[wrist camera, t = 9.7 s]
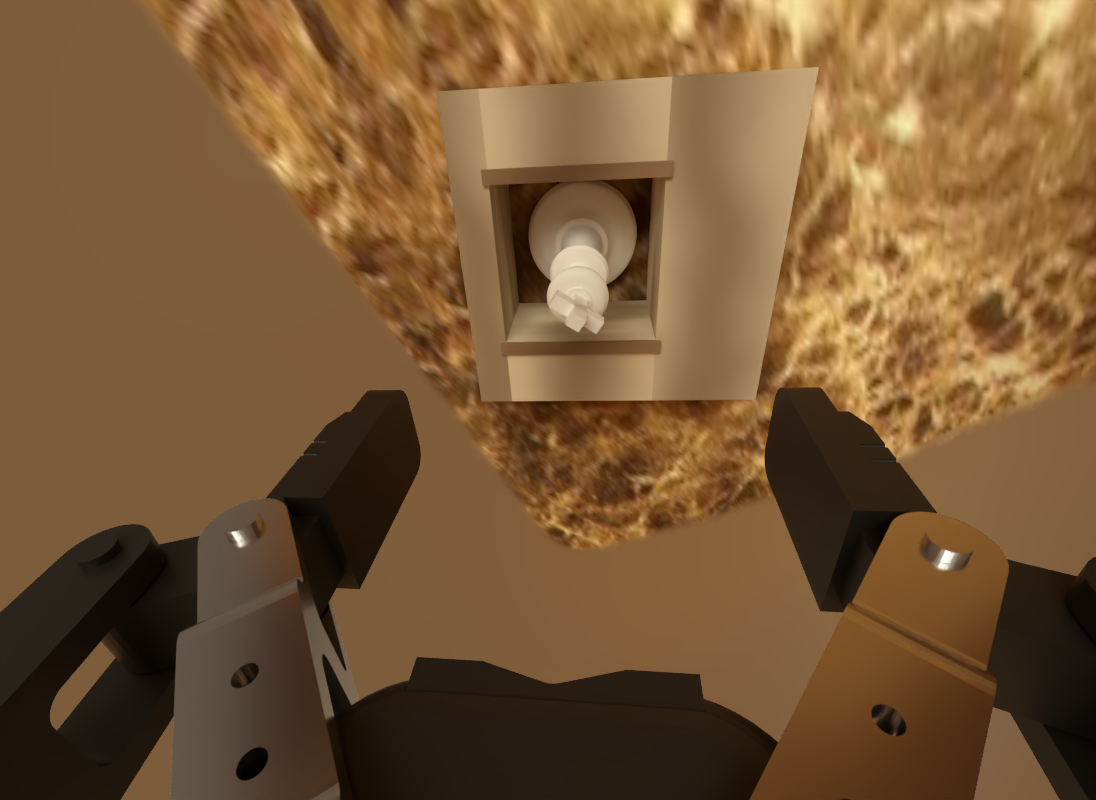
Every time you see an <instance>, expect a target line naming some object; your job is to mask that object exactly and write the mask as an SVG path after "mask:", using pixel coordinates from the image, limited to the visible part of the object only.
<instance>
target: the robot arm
mask: <svg viewBox="0 0 1096 800" xmlns="http://www.w3.org/2000/svg"><path fill="white" fill-rule="evenodd" d="M420 456H421V453H420V445H419V441H418V437H417V433H416V429H415V425H414V421H413V417H412V413H411V410H410V405H409V401H408V398H407V396H406V394H405V393H404V391H402V390H370V391H367V392H366V393H365V394H364V395H363V397H362V398H361V399H360V401H359V402H358V403H357V405H356V406H355V407H354V408H353V409H352V411H351V412H345V413H344V414H342V415H341V416H340V417H338V418H336V419H335V420H333V421H332V422H330V423H329V424H327V425H326V426H325V428H324V429H323V430H322V431H321V432H320V434H319V435H318V436H317V437H316V438H315V440H314V443H311V445H310V446H309V447H308V448H307V449H306V450H305V452H304V456H300V458H299V459H298V460H297V461H296V462H295V464H294V465H293V466H292V467H291V468H290V470H289V471H288V472H287V473H286V474H285V476H284V477H283V478H282V479H281V481H280V482H279V483H278V484H277V485H276V486H275V488H274V489H273V490H272V492H271V493H270V494H269V495H268V496H267V497H266V498H262V499H255V500H250V501H247V502H244V503H241V504H239V505H236V506H234V507H232V508H230V509H228V510H226V511H224V512H223V513H221V514H220V515H218V516H217V517H216V518H214V519H213V520H212V521H211V522H210V523H209V524H208V525H207V526H206V527H205V529H204V530H203V531H202V533H201V535H200V536H198V537H193V538H188V539H184V540H179V541H174V542H169V543H165V544H160V545H159V544H158V542H157V541H156V539H155V538H154V536H153V535H152V533H151V532H150V530H149V529H148V528H146V527H145V526H142V525H135V524H130V525H122V526H118V527H114V528H110V529H108V530H105V531H102V532H100V533H97V534H95V535H93V536H91V537H89V538H87V539H85V540H84V541H82V542H80V543H79V544H77V545H75V546H74V547H73V548H71V549H70V550H68V551H67V552H66V553H65V554H64V555H63V556H61V557H60V558H59V559H58V560H57V561H56V562H55V563H54V564H53V565H52V566H51V567H49V568H48V569H47V570H46V571H45V572H44V573H43V574H42V575H41V576H40V577H38V578H37V579H36V580H35V581H34V582H33V583H32V584H31V585H30V586H29V587H28V588H26V590H24V591H23V592H22V593H21V594H20V595H19V596H18V597H17V598H16V599H14V600H13V601H12V602H11V603H10V604H9V605H8V606H7V607H6V608H5V609H4V610H3V611H1V612H0V800H121V798H122V796H123V795H124V793H125V792H126V790H127V789H128V787H129V785H130V784H131V782H132V781H133V779H134V778H135V776H136V774H137V772H138V771H139V770H140V768H141V766H142V765H143V763H144V762H145V760H146V759H147V757H148V756H149V754H150V752H151V751H152V749H153V748H154V746H155V744H156V743H157V741H158V740H159V738H160V737H161V735H162V734H163V732H164V730H165V729H166V727H167V726H168V724H169V722H170V721H171V719H172V718H173V716H174V720H173V746H172V769H171V794H170V796H171V797H170V800H974V795H975V791H976V786H977V781H978V777H979V772H980V767H981V762H982V757H983V752H984V747H985V743H986V737H987V733H988V728H989V723H990V718H991V713H992V709H993V707H995V708H998V709H1001V710H1004V711H1007V712H1010V713H1011V715H1012V717H1013V719H1014V720H1015V722H1016V724H1017V726H1018V727H1019V729H1020V731H1021V733H1022V734H1023V736H1024V738H1025V740H1026V741H1027V743H1028V745H1029V746H1030V748H1031V750H1032V752H1033V754H1034V755H1035V757H1036V759H1037V761H1038V762H1039V764H1040V766H1041V767H1042V769H1043V771H1044V773H1045V774H1046V776H1047V778H1048V780H1049V782H1050V783H1051V785H1052V787H1053V788H1054V790H1055V792H1056V794H1057V796H1058V797H1059V799H1060V800H1096V557H1094V558H1092V559H1091V560H1090V561H1088V562H1087V564H1086V565H1085V567H1084V568H1083V569H1082V571H1081V572H1080V574H1079V575H1078V576H1073V575H1069V574H1064V573H1060V572H1056V571H1052V570H1048V569H1044V568H1040V567H1036V566H1031V565H1027V564H1023V563H1019V562H1015V561H1012V560H1008V559H1007V558H1006V556H1005V554H1004V553H1003V551H1002V550H1001V549H1000V547H999V546H998V545H997V544H996V543H995V542H994V541H993V540H992V539H990V538H989V537H988V536H987V535H985V534H984V533H982V532H981V531H979V530H978V529H976V528H974V527H972V526H971V525H969V524H967V523H965V522H962V521H960V520H958V519H955V518H952V517H949V516H945V515H941V514H938V513H937V512H936V511H935V509H934V508H933V507H932V506H931V504H930V503H929V502H928V500H927V499H926V498H925V496H923V494H922V492H921V491H920V490H919V489H918V487H917V486H916V485H915V483H914V482H913V480H912V479H911V478H910V476H909V475H908V474H907V473H906V471H905V470H904V469H903V467H902V466H901V465H900V463H896V458H895V457H894V455H893V454H892V453H891V451H890V450H889V449H888V448H885V444H884V442H883V441H882V440H881V438H880V437H879V436H878V434H877V433H876V432H875V430H874V429H873V428H872V426H870V425H869V424H867V423H865V422H864V421H862V420H861V419H859V418H858V417H856V416H855V415H853V414H852V413H850V412H838V411H837V409H836V408H835V407H834V405H833V404H832V402H831V401H830V399H829V398H828V396H827V395H826V394H825V392H824V391H823V390H822V389H821V388H819V387H810V388H780V389H779V390H778V391H777V393H776V396H775V401H774V406H773V411H772V416H771V422H770V427H769V432H768V437H767V443H766V448H765V469H766V474H767V478H768V480H769V483H770V486H771V488H772V491H773V493H774V496H775V498H776V501H777V503H778V506H779V508H780V511H781V513H782V515H783V518H784V521H785V523H786V526H787V528H788V531H789V533H790V536H791V538H792V541H793V543H794V546H795V549H796V551H797V553H798V556H799V559H800V561H801V564H802V566H803V569H804V571H805V574H806V576H807V579H808V581H809V584H810V586H811V589H812V591H813V594H814V596H815V599H816V602H817V604H818V606H819V609H820V611H828V612H829V611H830V612H843V614H842V616H841V618H840V620H839V622H838V624H837V626H836V628H835V630H834V632H833V634H832V636H831V638H830V640H829V642H828V644H827V646H826V648H825V650H824V652H823V654H822V656H821V658H820V660H819V662H818V664H817V666H816V668H815V670H814V672H813V674H812V676H811V678H810V680H809V682H808V684H807V686H806V688H805V690H804V692H803V694H802V696H801V698H800V700H799V702H798V704H797V706H796V708H795V710H794V712H793V714H792V716H791V718H790V720H789V722H788V724H787V726H786V728H785V730H784V732H783V734H782V736H781V738H780V740H779V742H777V741H776V740H775V739H773V738H772V737H771V736H770V735H769V734H767V733H766V732H764V731H763V730H762V729H760V728H759V727H758V726H756V725H755V724H754V723H752V722H751V721H749V720H747V719H746V718H744V717H742V716H741V715H739V714H737V713H736V712H733V711H731V710H730V709H727V708H725V707H723V706H721V705H719V704H717V703H714V702H711V701H708V700H705V699H703V694H702V687H701V680H700V675H699V674H684V673H667V672H651V671H635V670H624V671H619V672H614V673H609V674H604V675H599V676H594V677H589V678H584V679H579V680H574V681H569V682H563V683H558V684H548V683H545V682H541V681H539V680H535V679H533V678H530V677H526V676H524V675H521V674H518V673H515V672H512V671H509V670H507V669H504V668H501V667H498V666H495V665H492V664H489V663H486V662H484V661H472V660H455V659H438V658H423V657H417V659H416V661H415V665H414V667H413V670H412V674H411V676H410V679H409V681H404V682H400V683H397V684H394V685H391V686H388V687H385V688H383V689H381V690H378V691H376V692H374V693H372V694H370V695H368V696H366V697H364V698H363V699H361V700H360V699H359V696H358V694H357V691H356V688H355V685H354V681H353V678H352V675H351V671H350V667H349V663H348V660H347V656H346V652H345V649H344V645H343V641H342V638H341V634H340V631H339V627H338V624H337V620H336V616H335V613H334V609H333V607H332V605H331V602H330V599H331V597H332V595H333V593H334V591H335V590H336V588H350V589H360V587H361V585H362V583H363V581H364V579H365V577H366V575H367V573H368V571H369V569H370V567H371V565H372V563H373V561H374V559H375V557H376V555H377V553H378V551H379V549H380V547H381V545H382V543H383V541H384V539H385V537H386V535H387V533H388V531H389V529H390V527H391V525H392V523H393V521H394V519H395V517H396V514H397V513H398V511H399V509H400V507H401V505H402V503H403V501H404V499H405V497H406V495H407V493H408V491H409V489H410V487H411V485H412V483H413V480H414V479H415V477H416V475H417V472H418V470H419V466H420V458H421V457H420ZM100 641H101V642H102V643H103V644H104V645H105V646H106V647H107V648H108V650H109V651H110V652H111V653H112V654H113V655H114V656H115V657H116V658H115V659H114V661H113V662H112V663H111V664H110V665H109V667H108V668H107V669H106V670H105V672H104V673H103V674H102V675H101V677H100V678H99V679H98V680H97V682H96V683H95V684H94V685H93V687H92V688H91V689H90V690H89V692H88V693H87V694H86V695H85V697H84V698H83V699H82V700H81V702H80V703H79V704H78V705H77V706H76V708H75V709H74V710H73V712H72V713H71V714H70V715H69V717H68V718H67V719H66V720H65V721H64V723H63V724H62V725H61V726H60V728H59V729H58V730H57V731H56V730H55V729H54V728H53V726H52V725H51V722H50V709H51V705H52V702H53V700H54V698H55V696H56V694H57V693H58V691H59V690H60V689H61V687H62V686H63V685H64V684H65V682H66V681H67V680H68V679H69V678H70V676H71V675H72V674H73V673H74V672H75V671H76V670H77V668H78V667H79V666H80V665H81V664H82V663H83V661H84V660H85V659H86V658H87V657H88V655H89V654H90V653H91V652H92V651H93V650H94V648H95V647H96V646H97V645H98V644H99V643H100Z"/></svg>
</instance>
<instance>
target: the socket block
mask: <svg viewBox="0 0 1096 800" xmlns="http://www.w3.org/2000/svg"><path fill="white" fill-rule="evenodd" d="M818 69H819V67H813V68H797V69H781V70H766V71H750V72H735V73H719V74H704V75H688V76H673V77H657V78H642V79H626V80H610V81H595V82H579V83H564V84H548V85H533V86H517V87H502V88H486V89H470V90H455V91H439V92H437V99H438V106H439V113H440V120H441V127H442V133H443V140H444V147H445V154H446V161H447V168H448V175H449V181H450V188H451V195H452V202H453V209H454V216H455V222H456V229H457V236H458V243H459V250H460V257H461V264H462V270H463V277H464V284H465V291H466V298H467V305H468V312H469V318H470V325H471V332H472V339H473V346H474V353H475V360H476V366H477V373H478V380H479V387H480V394H481V401H633V400H756V394H757V389H758V384H759V379H760V373H761V368H762V363H763V358H764V352H765V347H766V342H767V337H768V331H769V326H770V321H771V316H772V310H773V305H774V300H775V295H776V289H777V284H778V279H779V274H780V268H781V263H782V258H783V253H784V247H785V242H786V237H787V232H788V226H789V221H790V216H791V211H792V205H793V200H794V195H795V190H796V184H797V179H798V174H799V169H800V163H801V158H802V153H803V148H804V142H805V137H806V132H807V127H808V121H809V116H810V111H811V106H812V101H813V95H814V90H815V85H816V80H817V74H818ZM635 178H652V192H651V211H650V231H649V251H648V271H647V291H646V300H636V301H608V305H607V308H606V310H605V312H604V313H603V315H602V317H604V324H603V325H602V327H601V328H600V330H599V331H598V332H597V334H595V333H593V332H592V331H590V330H588V329H587V328H585V327H582V328H581V330H580V331H579V332H577V331H575V330H573V329H571V328H570V327H568V326H566V324H564V323H562V322H560V321H559V320H558V319H556V318H555V317H554V315H553V314H552V313H551V311H550V309H549V307H548V303H519V296H518V284H517V273H516V262H515V251H514V239H513V228H512V217H511V206H510V195H509V184H526V183H548V182H569V181H591V180H613V179H635Z"/></svg>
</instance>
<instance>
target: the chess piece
mask: <svg viewBox="0 0 1096 800" xmlns="http://www.w3.org/2000/svg"><path fill="white" fill-rule="evenodd" d="M528 237H529V246H530V251H531V254H532V257H533V259H534V261H535V263H536V265H537V267H538V268H539V270H540V271H541V272H542V273H543V274H544V275H545V276H546V277H547V278H548V279H549V280H550V281H551V283H550V285H549V287H548V291H547V303H548V307H549V309H550V311H551V313H552V314H553V315H554V317H555V318H556V319H558V320H559V321H560V322H562V323H564V324H566V326H568V327H570V328H571V329H573V330H575V331H577V332H579V331H580V330H581V328H582V327H585V328H587V329H588V330H590V331H592V332H593V333H595V334H597V332H598V331H599V330H600V328H601V327H602V325H603V324H604V317H602V315H603V313H604V312H605V310H606V308H607V305H608V301H609V292H608V288H607V284H609V283H610V282H612V281H613V280H615V279H616V278H617V277H618V276H619V275H620V274H621V273H622V272H623V271H624V269H625V268H626V267H627V265H628V263H629V262H630V260H631V257H632V255H633V252H634V249H635V245H636V239H637V225H636V219H635V216H634V213H633V210H632V208H631V206H630V204H629V203H628V201H627V200H626V198H625V197H624V196H623V195H622V194H621V193H620V192H619V191H618V190H617V189H616V188H614V187H613V186H611V185H609V184H608V183H605V182H603V181H600V180H591V181H569V182H562V183H560V184H558V185H556V186H554V187H553V188H551V189H550V190H549V191H548V192H547V193H546V194H545V195H544V196H543V197H542V198H541V199H540V200H539V202H538V203H537V205H536V207H535V209H534V211H533V213H532V216H531V219H530V223H529V231H528Z"/></svg>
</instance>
